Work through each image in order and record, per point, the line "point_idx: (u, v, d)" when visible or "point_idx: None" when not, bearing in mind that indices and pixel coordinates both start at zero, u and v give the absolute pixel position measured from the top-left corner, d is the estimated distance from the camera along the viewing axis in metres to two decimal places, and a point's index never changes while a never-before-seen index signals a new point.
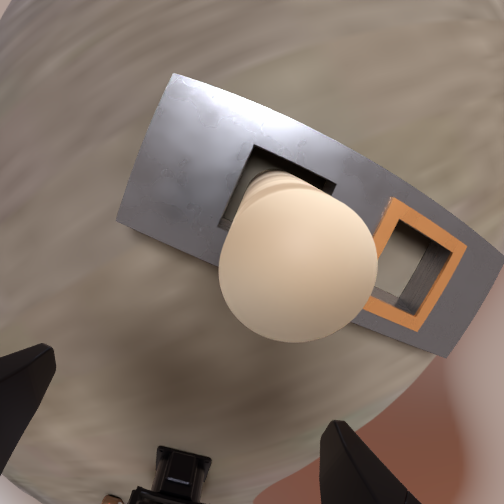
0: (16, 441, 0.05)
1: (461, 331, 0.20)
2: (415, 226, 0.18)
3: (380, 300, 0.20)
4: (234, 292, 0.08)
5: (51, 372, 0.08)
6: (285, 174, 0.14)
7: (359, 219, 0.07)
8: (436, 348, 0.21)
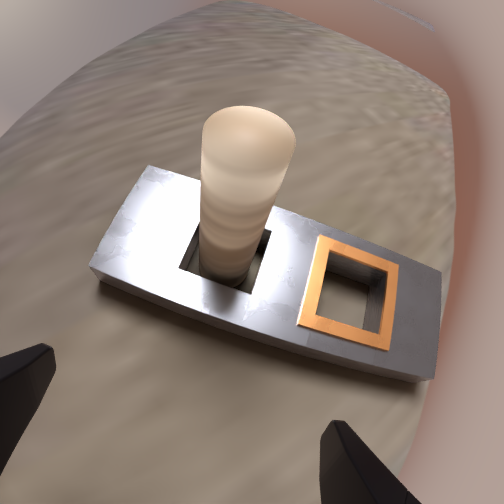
0: (17, 441, 0.05)
1: (434, 346, 0.21)
2: (345, 253, 0.23)
3: None
4: (212, 140, 0.12)
5: (51, 372, 0.08)
6: None
7: (275, 115, 0.13)
8: (417, 369, 0.20)
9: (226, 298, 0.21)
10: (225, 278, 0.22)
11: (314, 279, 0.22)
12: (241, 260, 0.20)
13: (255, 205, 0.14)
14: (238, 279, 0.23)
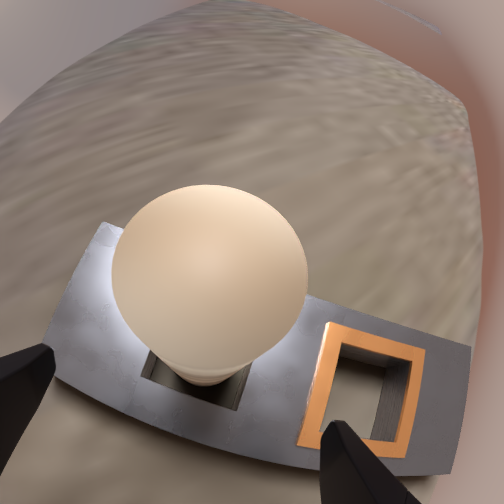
0: (17, 441, 0.05)
1: (455, 439, 0.15)
2: (361, 345, 0.17)
3: None
4: (128, 292, 0.06)
5: (51, 372, 0.08)
6: None
7: (267, 205, 0.07)
8: (434, 468, 0.14)
9: (204, 417, 0.14)
10: None
11: (320, 386, 0.15)
12: (221, 381, 0.13)
13: (229, 373, 0.08)
14: None
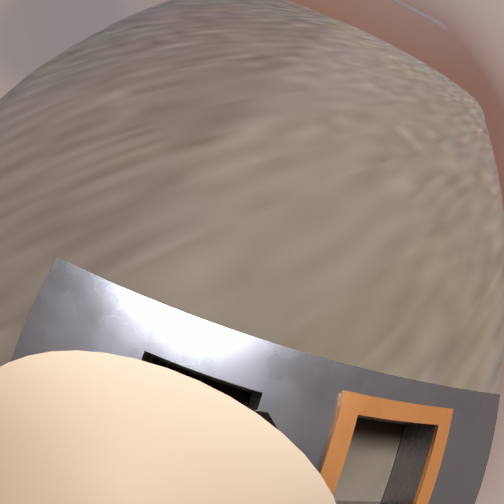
0: None
1: (473, 496, 0.10)
2: (382, 416, 0.12)
3: None
4: None
5: None
6: None
7: (255, 419, 0.02)
8: None
9: None
10: None
11: (329, 469, 0.11)
12: None
13: None
14: None
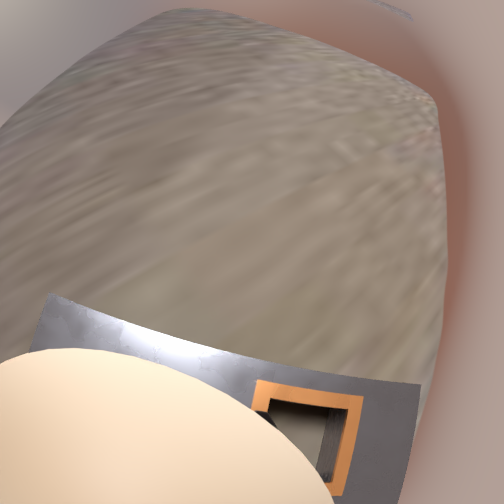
0: None
1: (401, 474, 0.16)
2: (291, 399, 0.17)
3: None
4: None
5: None
6: None
7: (252, 417, 0.02)
8: (377, 501, 0.15)
9: None
10: None
11: None
12: None
13: None
14: None
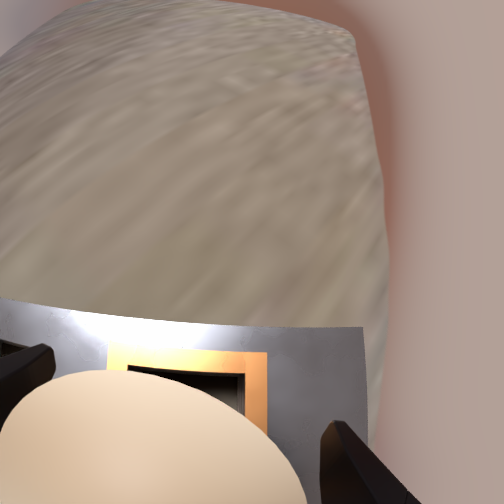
0: None
1: None
2: (156, 365, 0.13)
3: None
4: None
5: (51, 372, 0.08)
6: None
7: (239, 418, 0.03)
8: None
9: None
10: None
11: None
12: None
13: None
14: None
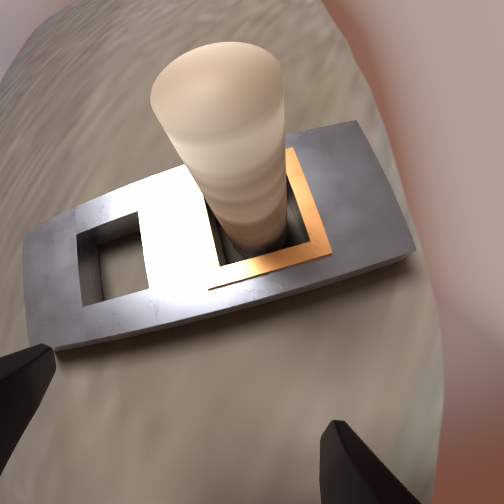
0: (16, 441, 0.05)
1: (395, 210, 0.18)
2: None
3: None
4: (166, 110, 0.08)
5: (51, 372, 0.08)
6: None
7: (240, 43, 0.08)
8: (387, 250, 0.17)
9: (131, 307, 0.18)
10: (263, 248, 0.19)
11: (200, 230, 0.18)
12: (274, 226, 0.16)
13: (261, 166, 0.10)
14: (279, 243, 0.19)
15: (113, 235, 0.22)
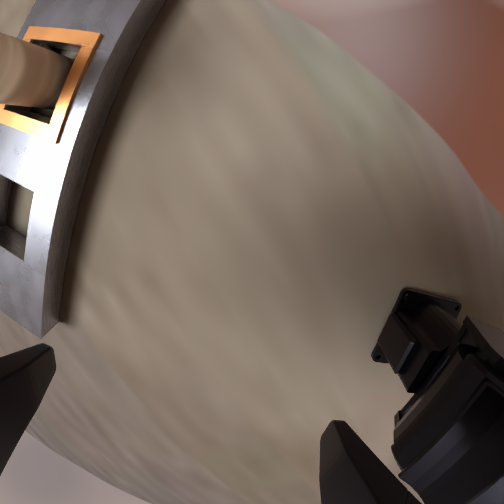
0: (16, 441, 0.05)
1: None
2: None
3: (61, 96, 0.14)
4: None
5: (51, 372, 0.08)
6: None
7: None
8: None
9: (38, 217, 0.17)
10: None
11: (23, 125, 0.15)
12: (45, 64, 0.12)
13: None
14: None
15: (3, 204, 0.19)
